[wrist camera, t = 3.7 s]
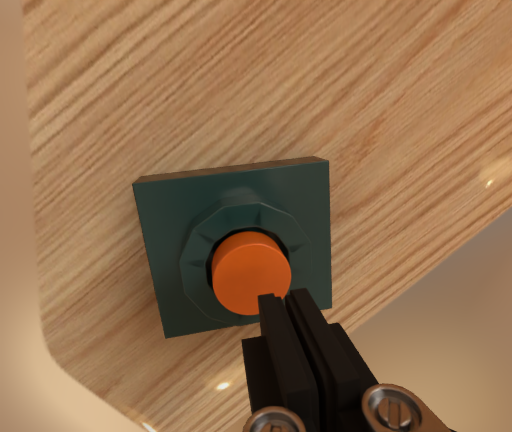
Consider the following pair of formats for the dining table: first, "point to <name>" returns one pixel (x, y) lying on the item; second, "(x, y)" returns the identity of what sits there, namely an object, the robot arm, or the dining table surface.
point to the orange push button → (248, 271)
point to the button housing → (232, 233)
